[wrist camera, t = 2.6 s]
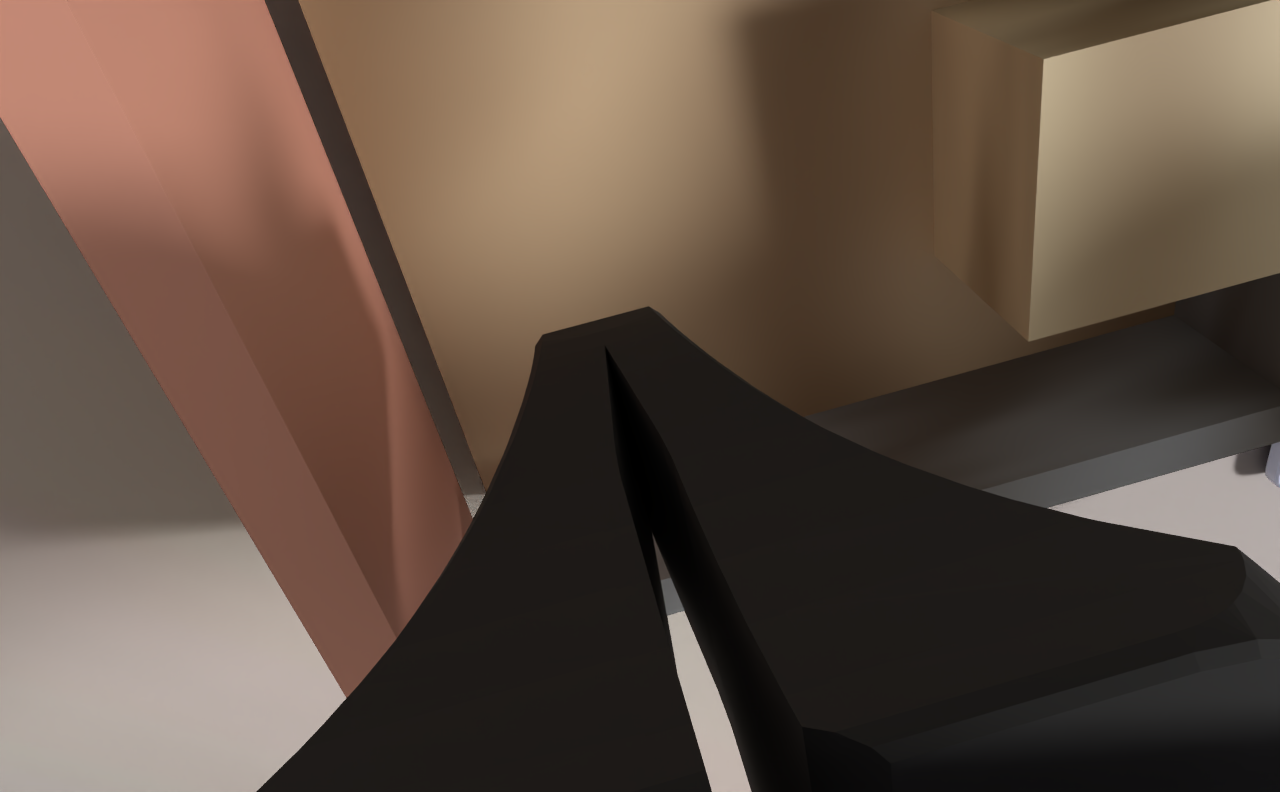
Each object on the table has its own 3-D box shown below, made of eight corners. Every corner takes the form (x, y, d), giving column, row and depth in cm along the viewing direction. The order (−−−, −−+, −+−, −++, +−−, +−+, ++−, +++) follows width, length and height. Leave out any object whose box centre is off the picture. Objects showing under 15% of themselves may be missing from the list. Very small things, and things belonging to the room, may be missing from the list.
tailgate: (222, -104, 11) (54, -22, 6) (481, 540, 17) (500, 841, 12) (156, -88, 11) (-65, 7, 6) (439, 552, 17) (442, 859, 12)
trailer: (1302, -594, 11) (1823, -825, 7) (1153, 401, 20) (1347, 565, 16) (187, -340, 11) (27, -428, 7) (528, 576, 20) (555, 795, 15)
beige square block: (1189, -56, 14) (1357, -23, 11) (1155, 195, 16) (1289, 270, 13) (931, 10, 13) (1043, 59, 11) (934, 255, 16) (1028, 341, 13)
